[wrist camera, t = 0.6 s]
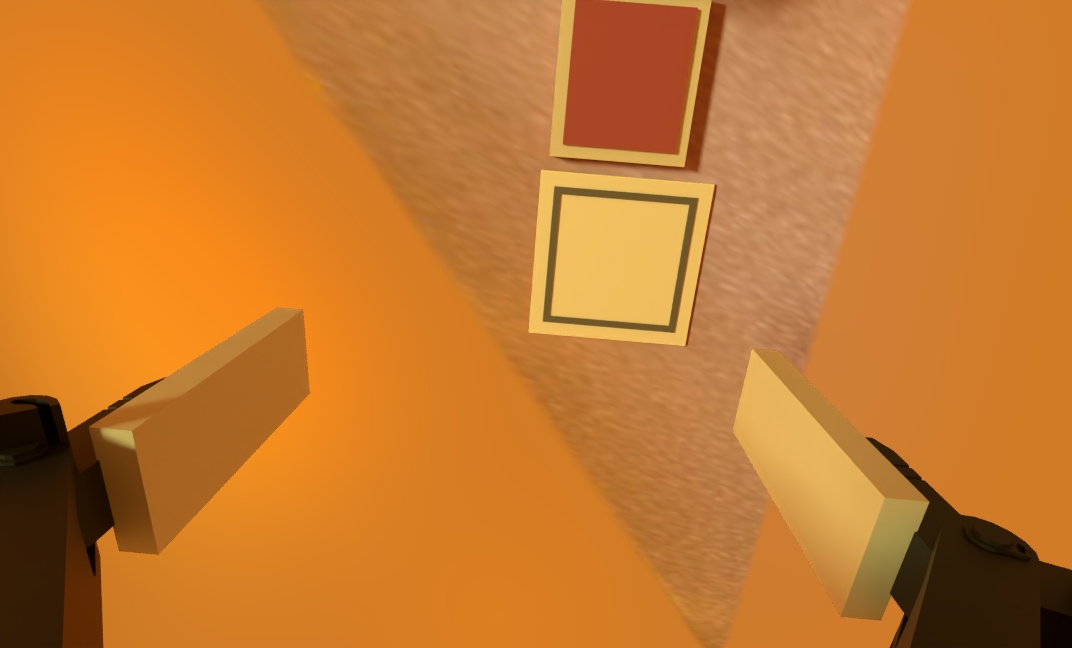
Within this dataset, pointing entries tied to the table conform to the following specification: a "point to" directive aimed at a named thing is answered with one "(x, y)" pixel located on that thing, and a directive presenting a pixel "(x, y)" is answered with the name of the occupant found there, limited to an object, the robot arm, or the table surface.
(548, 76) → the table surface
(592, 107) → the pad
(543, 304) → the paper sheet
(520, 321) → the table surface
